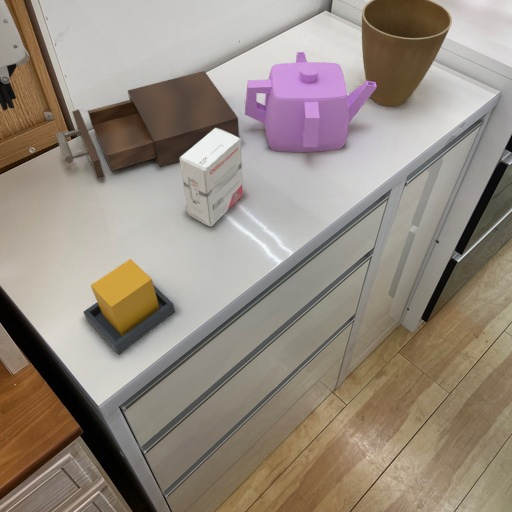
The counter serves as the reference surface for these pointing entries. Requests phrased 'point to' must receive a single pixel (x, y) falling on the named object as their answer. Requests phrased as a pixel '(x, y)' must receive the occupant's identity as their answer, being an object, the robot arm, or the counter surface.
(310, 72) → the teakettle
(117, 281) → the box
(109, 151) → the drawer
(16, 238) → the counter surface
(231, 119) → the cabinet
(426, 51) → the plant pot
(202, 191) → the ink box
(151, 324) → the dark grey tray
